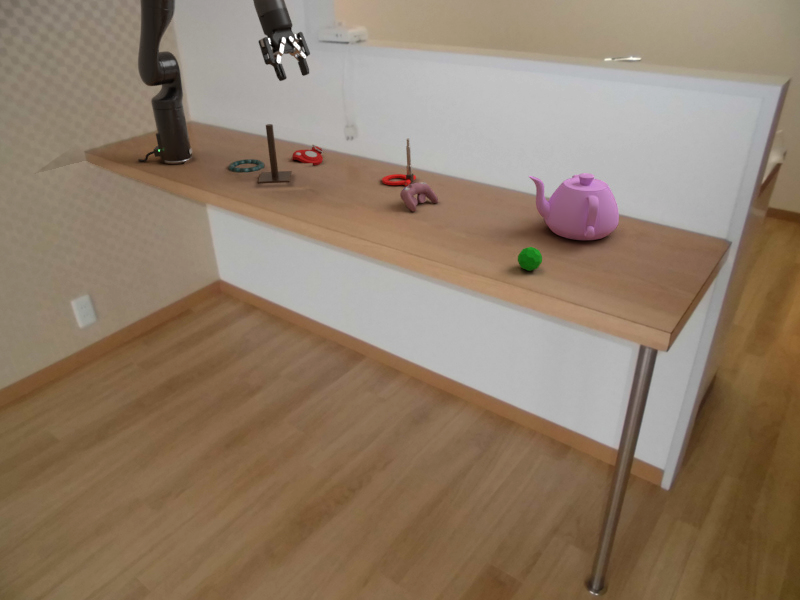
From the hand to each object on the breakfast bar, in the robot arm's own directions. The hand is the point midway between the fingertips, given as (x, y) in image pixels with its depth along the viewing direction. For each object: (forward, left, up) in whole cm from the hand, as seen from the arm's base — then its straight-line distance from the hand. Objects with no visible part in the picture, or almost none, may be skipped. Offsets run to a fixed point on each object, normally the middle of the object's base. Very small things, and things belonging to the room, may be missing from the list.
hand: (294, 77), depth 158 cm
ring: (-19, +23, -30) cm, 42 cm away
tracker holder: (+1, +30, -31) cm, 43 cm away
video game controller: (+31, -14, -31) cm, 46 cm away
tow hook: (+27, +6, -31) cm, 41 cm away
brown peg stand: (-9, +11, -31) cm, 34 cm away
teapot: (+65, -35, -31) cm, 80 cm away
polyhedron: (+50, -54, -31) cm, 80 cm away
